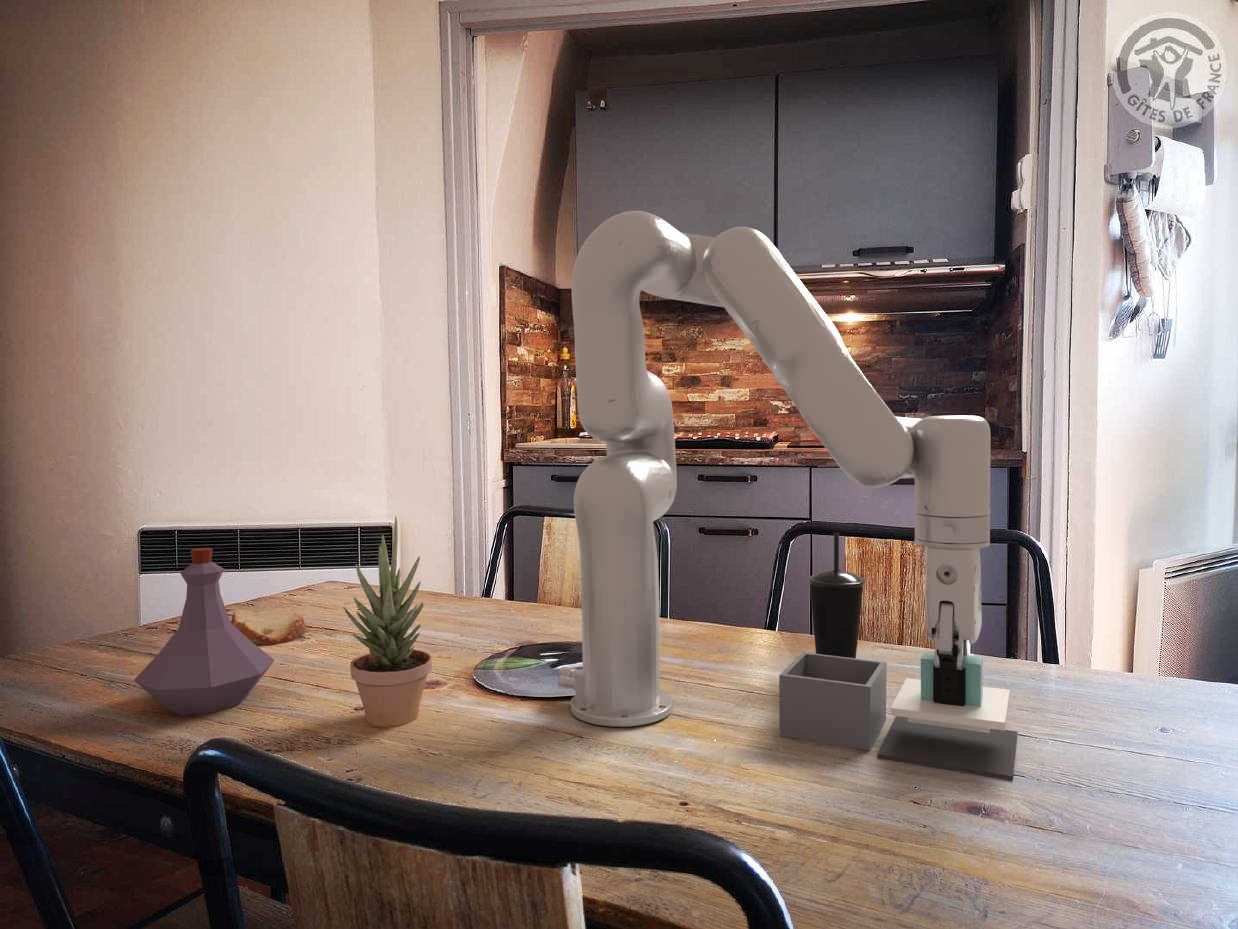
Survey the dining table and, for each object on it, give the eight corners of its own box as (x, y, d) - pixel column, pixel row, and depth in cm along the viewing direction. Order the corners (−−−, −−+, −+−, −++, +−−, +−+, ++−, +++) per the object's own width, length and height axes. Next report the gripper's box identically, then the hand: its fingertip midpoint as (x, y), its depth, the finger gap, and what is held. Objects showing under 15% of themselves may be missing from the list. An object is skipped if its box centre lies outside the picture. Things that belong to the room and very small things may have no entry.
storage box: (779, 735, 96) (779, 675, 95) (802, 708, 104) (802, 652, 104) (870, 750, 91) (870, 687, 91) (886, 720, 100) (886, 662, 100)
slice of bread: (245, 619, 156) (244, 599, 156) (335, 621, 153) (334, 601, 153) (179, 645, 139) (178, 623, 138) (279, 649, 136) (278, 626, 135)
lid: (890, 724, 89) (890, 666, 89) (906, 693, 99) (906, 640, 99) (1004, 740, 84) (1005, 678, 84) (1009, 705, 94) (1009, 650, 94)
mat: (877, 757, 89) (877, 753, 89) (896, 717, 101) (896, 714, 101) (1012, 780, 83) (1012, 776, 83) (1017, 734, 95) (1017, 731, 95)
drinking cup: (867, 687, 112) (868, 537, 111) (808, 684, 114) (808, 536, 112) (862, 670, 119) (863, 529, 118) (807, 667, 121) (807, 528, 120)
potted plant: (403, 737, 97) (397, 523, 95) (335, 727, 100) (328, 520, 99) (450, 708, 106) (445, 512, 105) (386, 700, 109) (380, 510, 108)
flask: (302, 687, 115) (297, 541, 114) (214, 731, 99) (207, 562, 98) (202, 678, 120) (196, 538, 118) (103, 719, 104) (95, 558, 103)
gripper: (984, 543, 82) (983, 729, 83) (994, 522, 96) (993, 681, 97) (903, 539, 85) (903, 718, 86) (924, 520, 100) (924, 673, 101)
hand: (951, 697), depth 92 cm, fingers closed on lid, 3 cm apart
